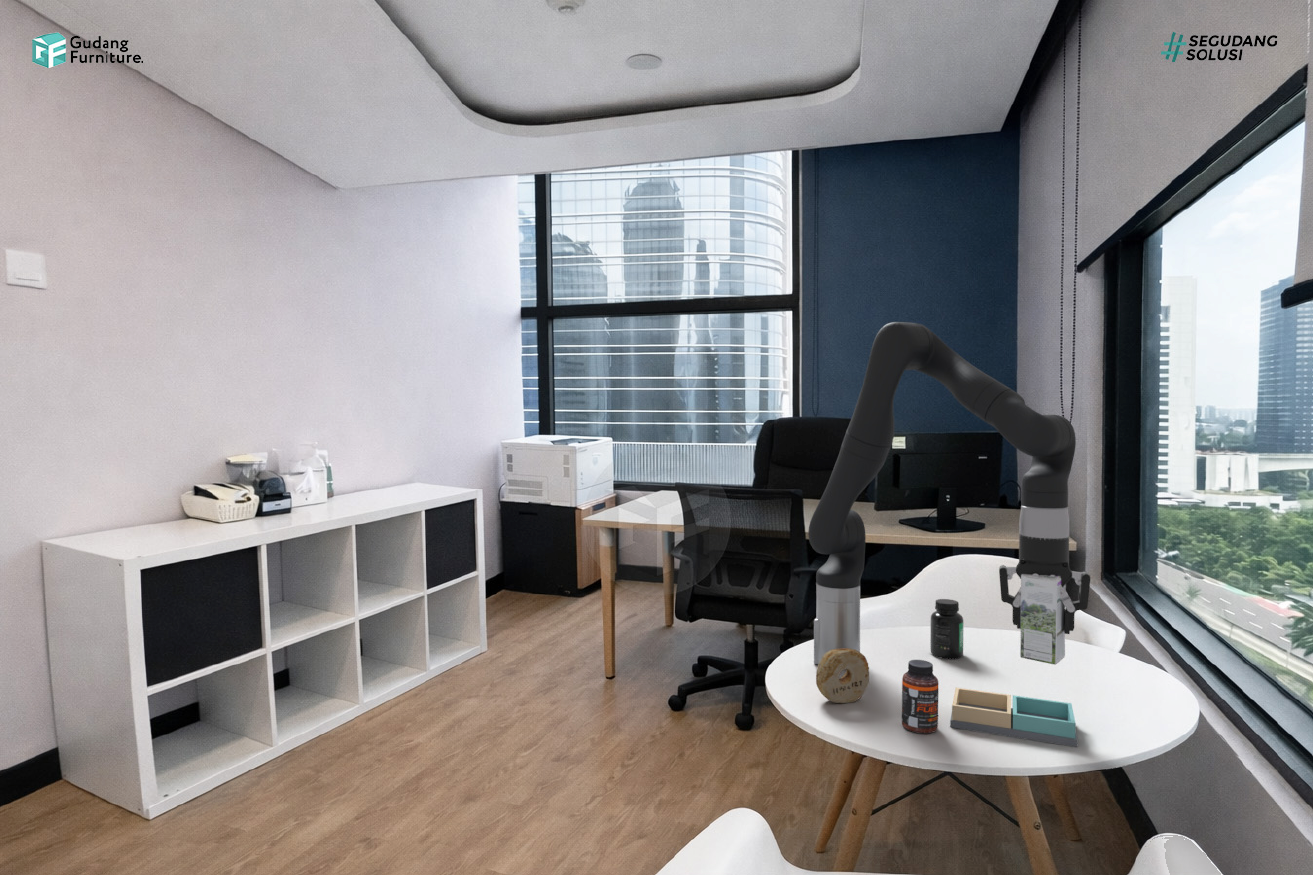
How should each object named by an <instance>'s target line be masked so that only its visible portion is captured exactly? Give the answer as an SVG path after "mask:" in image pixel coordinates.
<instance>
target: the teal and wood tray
mask: <svg viewBox="0 0 1313 875" xmlns="http://www.w3.org/2000/svg"><path fill="white" fill-rule="evenodd" d="M949 720H950V721H949V722H950V726H949V727H950V728H954V729H959V730H966V731H973V732H980V733H984V734H985V733H986V734H992V735H999V736H1005V737H1010V738H1016V739H1022V740H1023V739H1024V740H1029V741H1037V742H1042V743H1049V744H1056V745H1061V746H1067V747H1074V748H1075V747H1076V748H1078V736H1077V730H1076V725H1077V724H1076V720H1075V714H1074V709H1073V705H1072V702H1065V701H1059V700H1058V701H1057V700H1052V699H1051V700H1049V699H1043V698H1036V697H1035V698H1034V697H1028V696H1022V695H1021V696H1020V695H1014V694H1013V695H1012V694H1007V693H1005V694H1004V693H999V692H993V691H992V692H991V691H986V690H985V691H984V690H977V689H971V688H970V689H969V688H962V687H955V689H954V693H953V700H952V704H951V716H950V719H949Z"/></svg>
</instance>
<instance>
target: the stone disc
mask: <svg viewBox="0 0 1313 875" xmlns="http://www.w3.org/2000/svg"><path fill="white" fill-rule="evenodd" d="M816 667H817V668H816V675H815V684H816V687H817V689H818V691H819V692H820V693H821V694H822V696H823V697H824V698H825V699H826V700H828V701H830V702H831V703H835V704H848V703H854V702H856V701H858V700H859V699H860V698H861V697H862V696H863V695H864V693H865V692H866V690H867V688H868V686H869V682H870V672H869V670H870V667H869V662H868V659H867V658H866V656H865V655H864V654H863V653H862V652H861V651H860V652H858V651H856V650H854V649H849V648H841V649H833V650H830V651H828V652H826V653H825V654H824V655H823V657H822V659H821V660H820V662H819V664H817V666H816ZM844 670H845V673H844V674H843V676H842V677H840V674H841V672H842V671H844Z"/></svg>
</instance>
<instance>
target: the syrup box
mask: <svg viewBox="0 0 1313 875" xmlns="http://www.w3.org/2000/svg"><path fill="white" fill-rule="evenodd" d="M1060 584H1061V578H1060V576H1056V577H1049V575H1039V576H1031V574H1022V575H1021V579H1020V587H1021V629H1020V652H1019V653H1020V655H1019V656H1020V658H1021V659H1026V660H1031V661H1034V662H1035V661H1036V662H1040V663H1043V664H1044V663H1045V664H1049V665H1050V664H1051V665H1057V664H1059V663H1060V662H1061V661H1062V660H1063V659H1064V658H1065V657H1066V639H1065V638H1066V634H1065V633H1064V609H1066V607H1065V605H1064V604H1063V602H1062V601H1061V599H1060ZM1063 589H1064V590H1066V589H1067V583H1066V584H1065V585H1064V587H1063ZM1066 591H1067V590H1066ZM1061 593H1062V592H1061Z"/></svg>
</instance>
